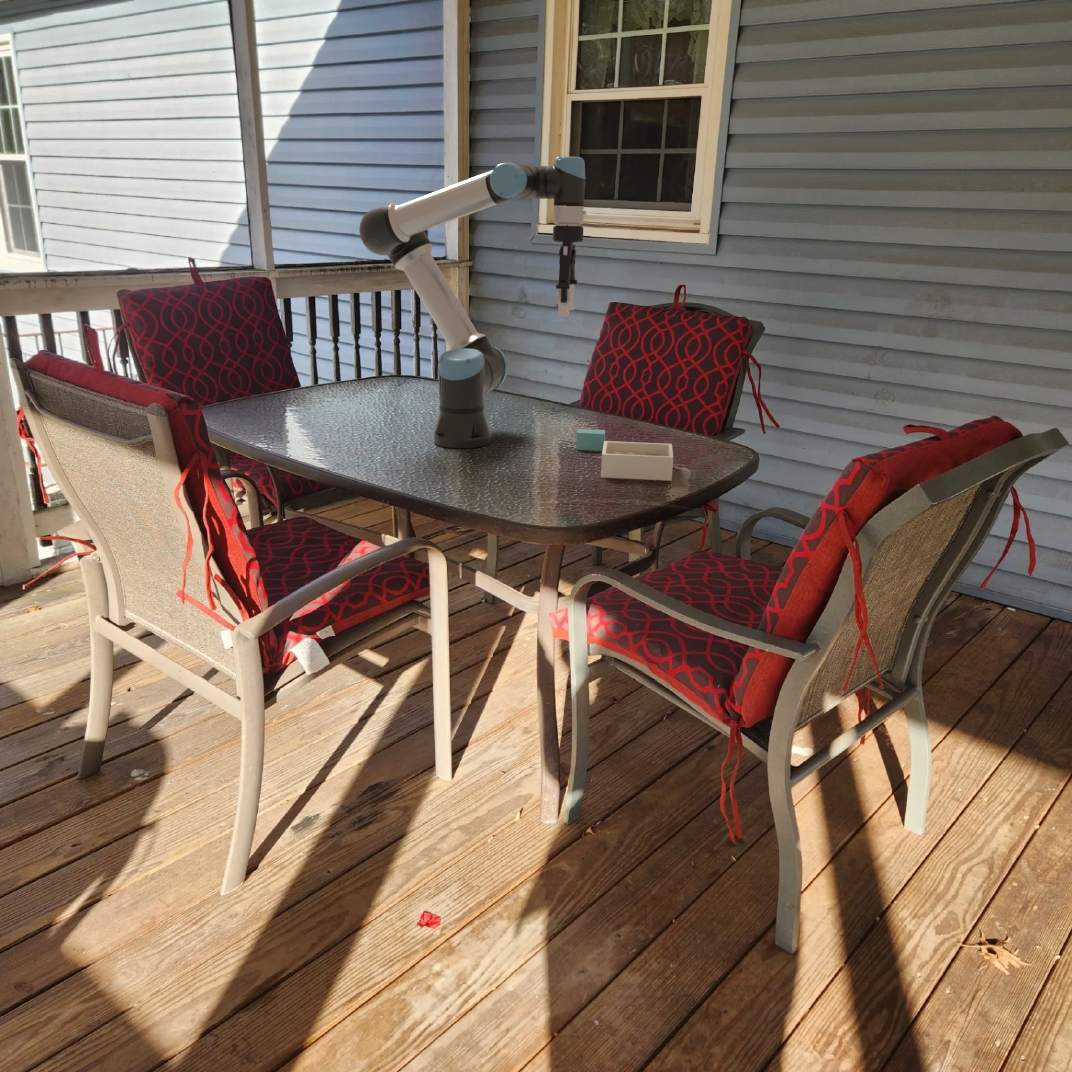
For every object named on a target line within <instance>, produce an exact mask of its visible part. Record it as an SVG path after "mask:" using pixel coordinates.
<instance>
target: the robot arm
mask: <svg viewBox="0 0 1072 1072" xmlns="http://www.w3.org/2000/svg"><path fill="white" fill-rule="evenodd" d="M554 158H555V159H554V162H553V165H527V164H519V163H516V162H511V161H507V162H503V163H499V164H497V165H496V166H495V167H494V168H493V169H491V170H489V171H485V172H484V173H481V174H477V175H475V176H472V177H470V178H468V179H465V180H462V181H460V182H457V183H454V184H451V185H449V186H447V187H444V188H441V189H439V190H436V191H433V192H431V193H430V192H429V193H428V194H425V195H423V196H420V197H417V198H415V199H412V200H409V201H407V202H404V203H402V204H399V203H397V202H390V203H387V204H386V205H384V206H379V207H375V208H372V209H370V210H369V211H367V212H366V213H365V214H364V215H363V216H362V218H361V221H360V223H359V236H360V239H361V242H362V243H363V246H365V248H366V249H367V250H369V252H371V253H373V254H375V255H378V256H387V257H388V258H389V260H390V262H391V263H392V265H393V267H394V268H395V269H396V270H400V271H402V272H404V274H405V276H406V277H407V279H408V280H409V282H410V284H411V286H412V287H413V289H414V291H415V292H416V294H417V295H418V296H417V297H419V299H420V300H421V302H422V303H423V305H424V307H425V309H426V310H427V312H428V315H430V316H429V317H431V319H432V321H433V322H434V324H435V325H436V328H437V329H438V331H439V332H440V334H441V335H442V337H443V339H444V340H445V342H446V344H447V345H448V347H449V349H450V350H447V351H445V352H443V353H441V354H440V356H439V358H438V367H437V374H438V397H439V398H438V399H439V415H438V418H437V421H436V424H435V428H434V432H433V443H434V444H435V445H437V446H440V447H442V448H451V449H473V448H480V447H484V446H487V445H489V444H490V443H491V442H492V432H491V429H490V426H489V423H488V420H487V417H486V414H485V394H487V393H489V392H493V391H494V390H497V389H498V388H499V387H500V386H501V385H502V384H503V383H504V382H505V380H506V379H507V376H508V373H509V372H508V371H509V364H508V363H509V362H508V360H507V357H506V356H505V353H504V352H503V350H500V349H499V348H498V347H496V346H493V345H492V343H491V342H490V340H489V339H488V337H487V335H485V334H483V333H479V332H478V331H477V329H476V327H475V325H474V324H473V322H472V321H471V319H470V317H469V316H468V314H467V312H466V310H465V309H464V308H463V306H462V304H461V302H460V301H459V299H458V297H457V295H456V294H455V292H454V291H453V289H452V287H451V285H450V284H449V282H448V280H447V279H446V277H445V276H444V274H443V272H442V270H441V268H440V267H439V265H438V264H437V262H436V260H435V258H434V257H433V255H432V250H433V244H432V243H431V240H430V239H429V230H431V229H433V228H436V227H439V226H441V225H443V224H446V223H450V222H452V221H454V220H457V219H458V220H459V219H461V218H464V217H466V216H468V215H471V214H474V213H477V212H480V211H482V210H486V209H488V208H491V207H493V206H496V205H500V204H503V203H505V202H508V201H510V200H513V199H518V200H533V199H534V200H537V199H538V200H542V199H548V200H552V199H553V209H552V211H553V212H552V222H553V224H555V225H553V227H552V241H554V242H557V243H562V245H561V246H560V248H559V252H558V255H559V271H558V283H557V284H555V288H556V290H558V310H557V311H558V313H557V314H558V315H557V316H558V317H570V311H575V310H574V309H575V308H574V307H575V305H574V304H575V285H578V280H577V279H576V277H575V276H576V274H575V271H576V270H575V268H576V267H575V265H576V256H577V249H576V245H575V244H574V243H582V242H583V240H584V227H583V225H582V224H584V219H585V218H584V216H585V215H587V211H586V210H584V209H585V208H584V207H585V189H586V166H585V165H586V164H585V163H586V162H585V159H583V158H582V157H580V156H557V157H554Z"/></svg>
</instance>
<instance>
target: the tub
mask: <svg viewBox="0 0 1072 1072" xmlns="http://www.w3.org/2000/svg"><path fill="white" fill-rule="evenodd" d="M615 452H632V454H633V455H627V454H615ZM646 453H650V454H659V455H663V456H649V455H645V454H646ZM600 464H601V468H600V478H602V479H603V478H604V479H605V478H606V479H623V480H624V479H625V480H628V479H629V480H650V481H664V482H665V481H667V482H668V481H670V482H671V481H673V480H672V479H673V468H674V467H673V466H674V452H673V444H672V443H662V442H661V443H659V442H656V443H655V442H639V441H636V442H634V441H633V442H632V441H616V440H615V441H613V440H612V441H611V440H605V441H604V445H603V451H601V463H600Z"/></svg>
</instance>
